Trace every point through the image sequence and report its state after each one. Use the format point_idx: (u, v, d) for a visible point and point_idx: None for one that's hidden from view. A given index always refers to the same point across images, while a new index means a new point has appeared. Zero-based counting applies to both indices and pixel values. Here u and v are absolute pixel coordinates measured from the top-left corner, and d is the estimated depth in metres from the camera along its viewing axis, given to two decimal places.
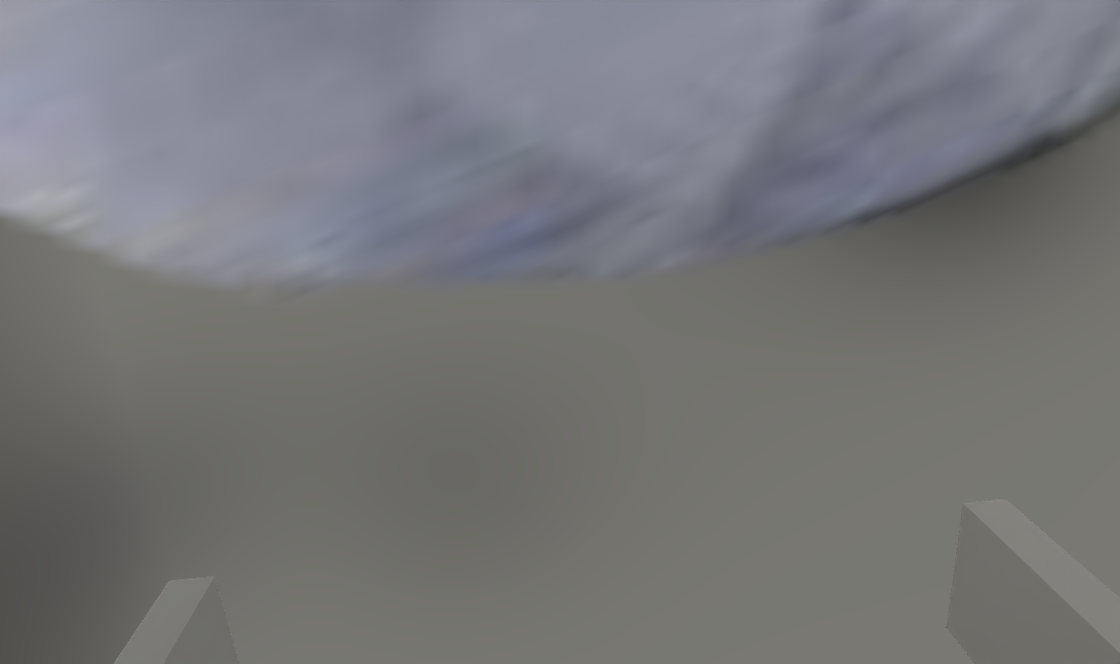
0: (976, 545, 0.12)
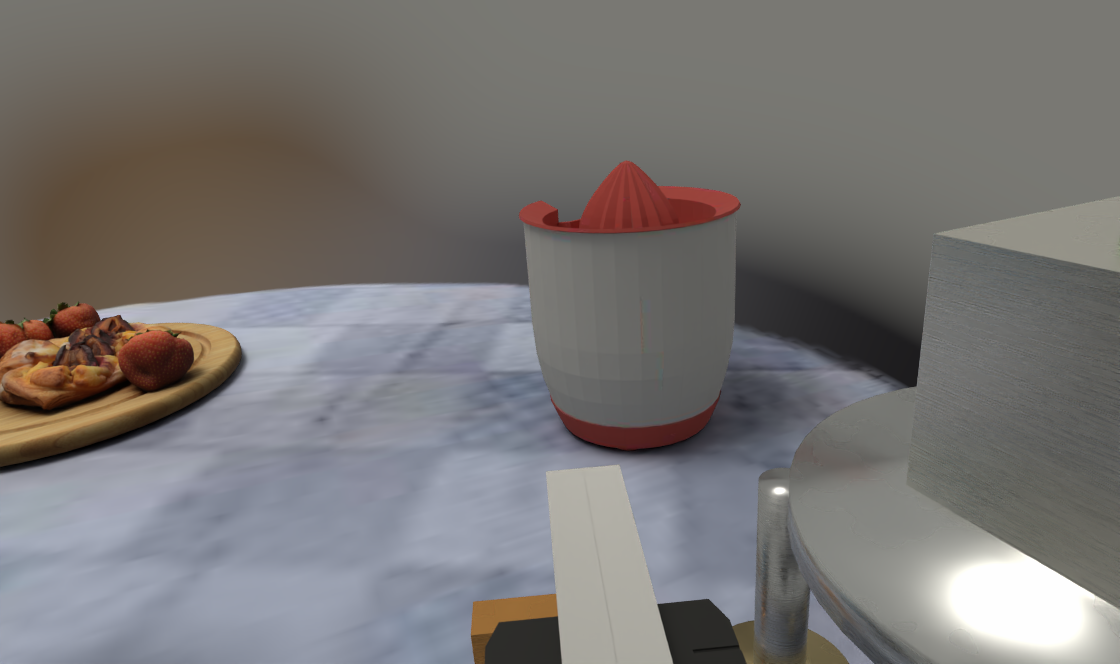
0: None
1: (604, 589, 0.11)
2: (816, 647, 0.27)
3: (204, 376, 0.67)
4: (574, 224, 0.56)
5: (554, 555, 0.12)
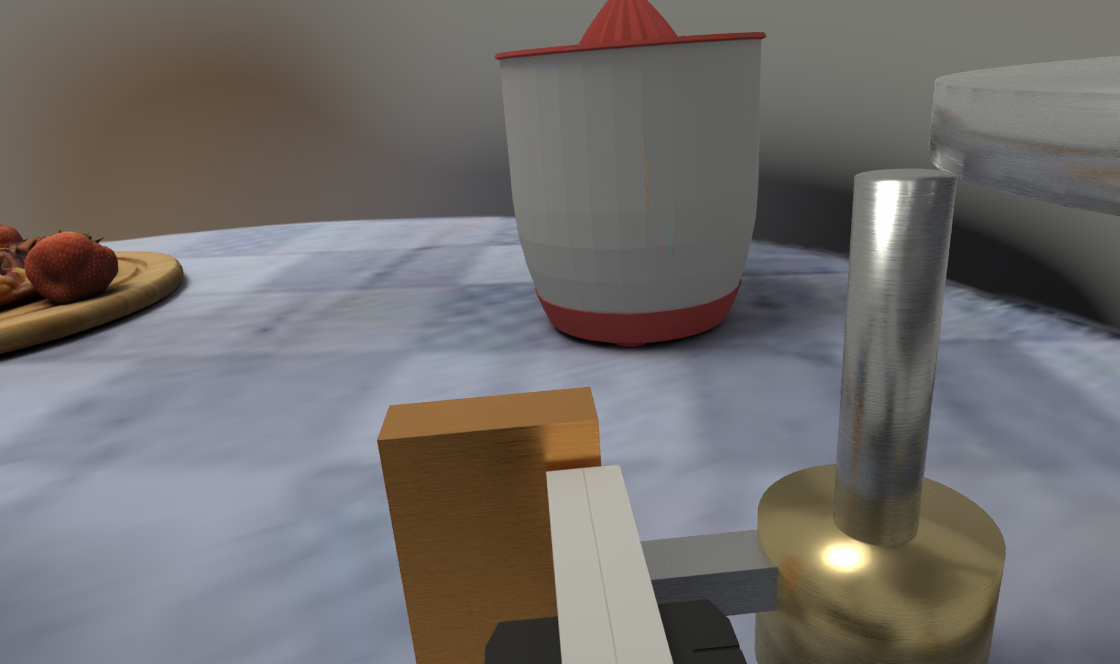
0: None
1: (604, 589, 0.11)
2: (927, 492, 0.18)
3: (130, 290, 0.57)
4: None
5: (554, 555, 0.12)
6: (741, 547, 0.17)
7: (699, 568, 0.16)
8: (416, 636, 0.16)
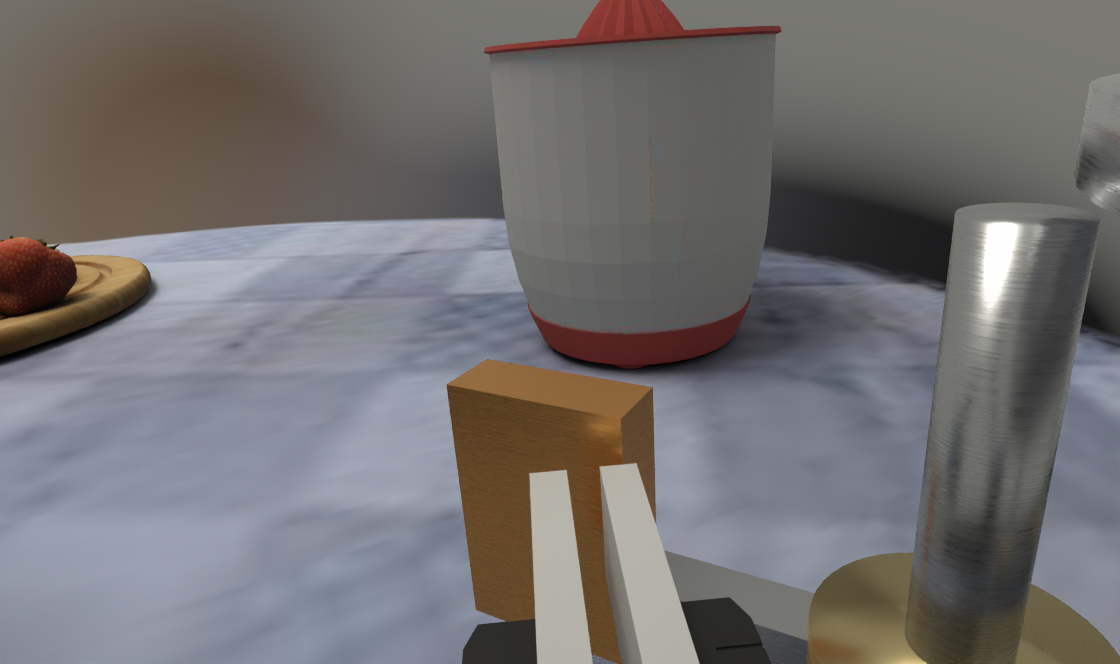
0: (603, 502, 0.14)
1: None
2: (1071, 640, 0.13)
3: (90, 300, 0.53)
4: None
5: (534, 557, 0.12)
6: (788, 605, 0.15)
7: None
8: (473, 562, 0.18)
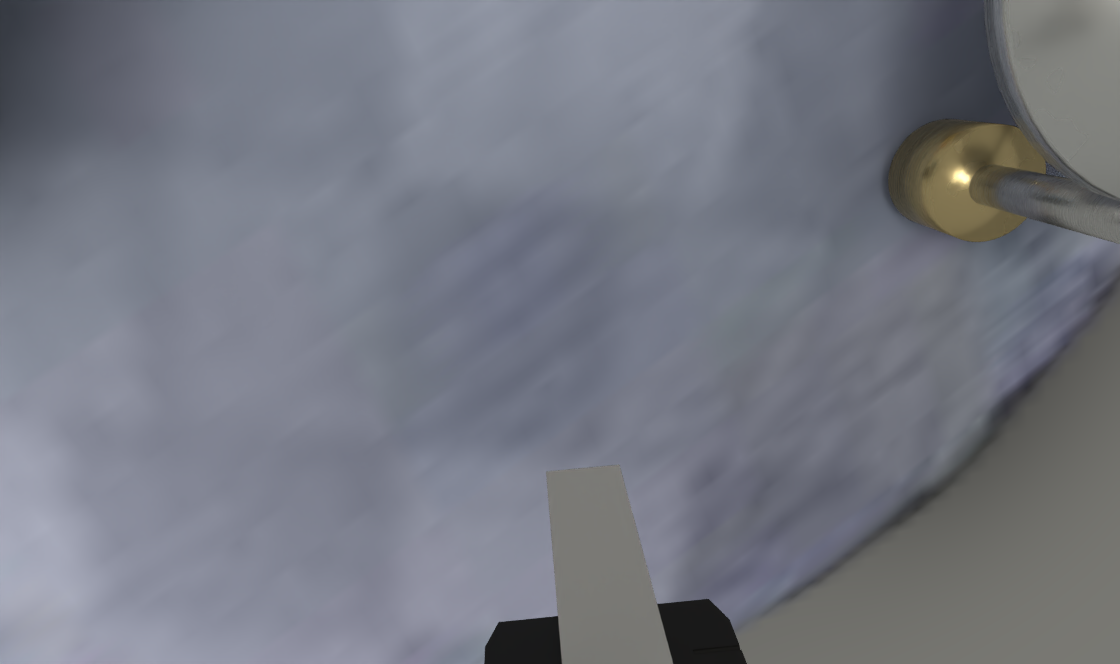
0: None
1: (604, 590, 0.11)
2: None
3: None
4: None
5: (554, 555, 0.12)
6: None
7: None
8: None
